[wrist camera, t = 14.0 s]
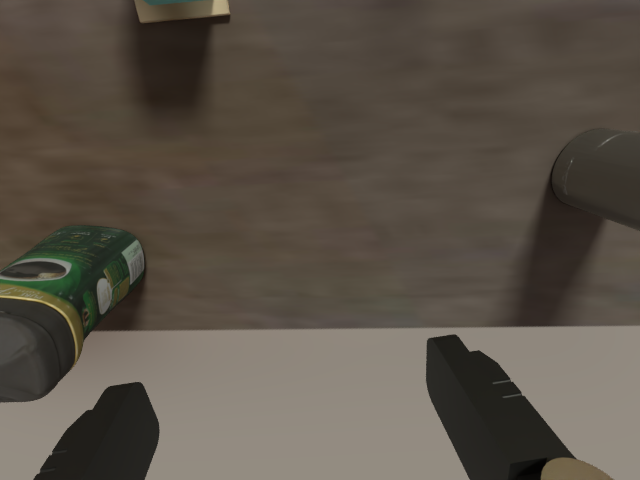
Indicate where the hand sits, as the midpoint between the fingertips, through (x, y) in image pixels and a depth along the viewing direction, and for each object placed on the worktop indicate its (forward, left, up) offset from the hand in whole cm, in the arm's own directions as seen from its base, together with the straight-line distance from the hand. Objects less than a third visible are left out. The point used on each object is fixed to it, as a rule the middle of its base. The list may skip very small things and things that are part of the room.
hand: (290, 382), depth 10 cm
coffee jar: (+22, +7, -30) cm, 38 cm away
